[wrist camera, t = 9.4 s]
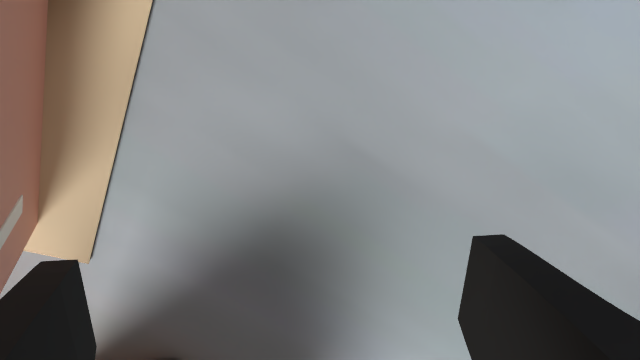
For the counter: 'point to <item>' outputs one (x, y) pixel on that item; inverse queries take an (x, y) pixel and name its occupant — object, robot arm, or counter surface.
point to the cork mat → (83, 116)
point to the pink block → (20, 124)
